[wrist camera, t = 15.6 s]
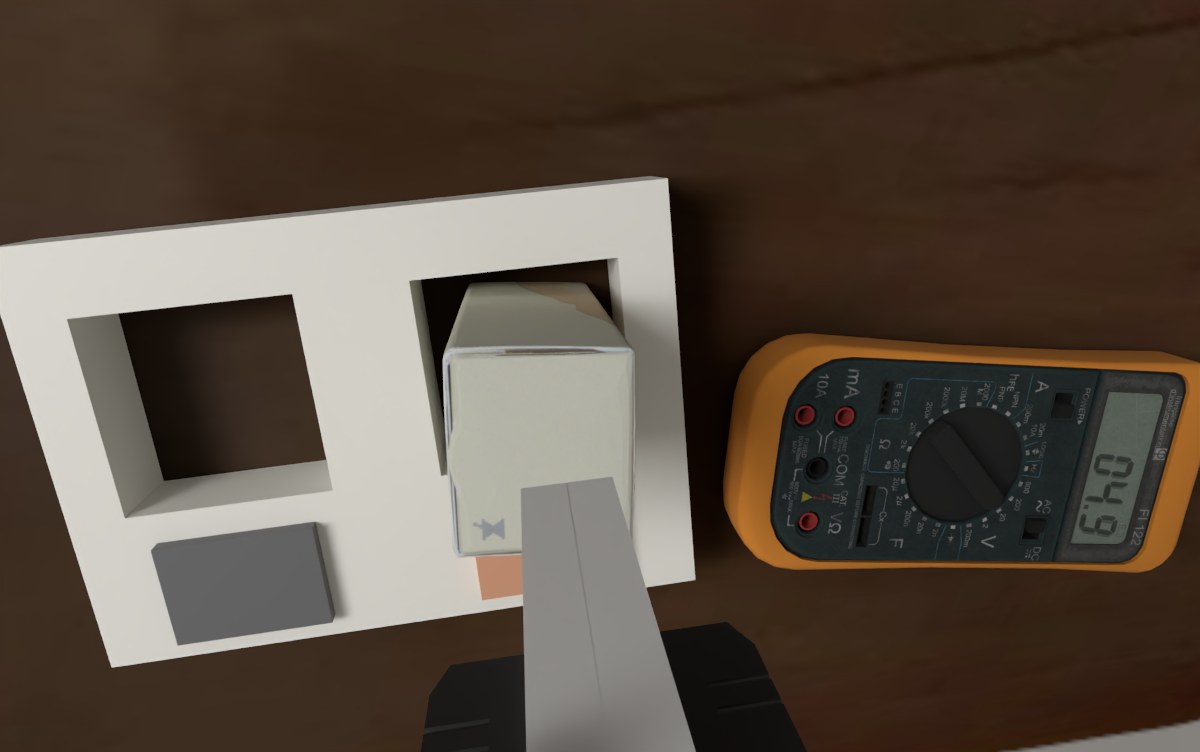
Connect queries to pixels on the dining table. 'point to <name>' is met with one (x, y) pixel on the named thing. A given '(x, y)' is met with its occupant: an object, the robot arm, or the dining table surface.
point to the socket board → (322, 412)
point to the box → (532, 406)
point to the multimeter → (960, 455)
